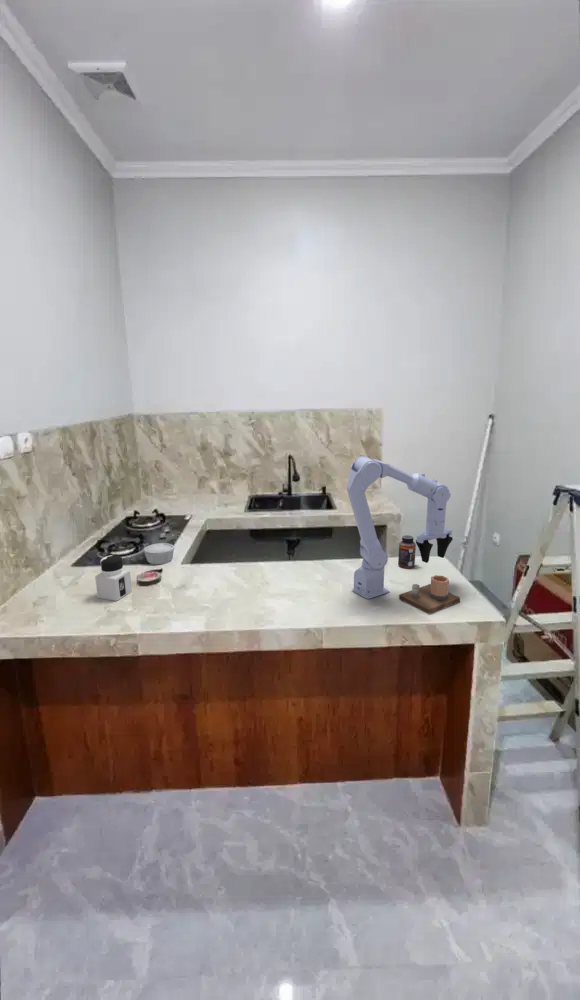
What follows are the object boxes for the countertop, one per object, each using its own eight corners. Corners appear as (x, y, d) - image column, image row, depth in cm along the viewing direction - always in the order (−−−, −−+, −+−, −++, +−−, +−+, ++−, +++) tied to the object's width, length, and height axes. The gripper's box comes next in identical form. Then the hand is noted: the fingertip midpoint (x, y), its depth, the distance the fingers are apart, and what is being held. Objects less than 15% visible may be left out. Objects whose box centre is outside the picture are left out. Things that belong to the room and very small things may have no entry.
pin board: (428, 614, 139) (429, 598, 137) (398, 598, 148) (399, 584, 147) (459, 601, 146) (461, 587, 145) (429, 588, 156) (430, 574, 155)
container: (132, 591, 156) (128, 554, 153) (117, 601, 149) (112, 563, 146) (113, 588, 159) (109, 552, 156) (97, 598, 152) (92, 560, 149)
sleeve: (439, 601, 143) (441, 583, 141) (426, 595, 147) (427, 578, 145) (450, 597, 146) (452, 579, 144) (437, 591, 150) (438, 574, 148)
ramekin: (181, 558, 185) (180, 545, 184) (159, 568, 176) (158, 554, 175) (160, 553, 191) (159, 541, 190) (139, 562, 182) (137, 549, 181)
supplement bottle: (415, 569, 171) (416, 539, 168) (398, 568, 172) (399, 539, 170) (414, 563, 177) (415, 534, 174) (397, 562, 178) (399, 533, 175)
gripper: (429, 526, 145) (427, 568, 148) (460, 518, 152) (457, 558, 156) (412, 521, 151) (410, 561, 154) (443, 514, 158) (440, 552, 162)
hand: (433, 559), depth 155 cm, fingers open, 7 cm apart
